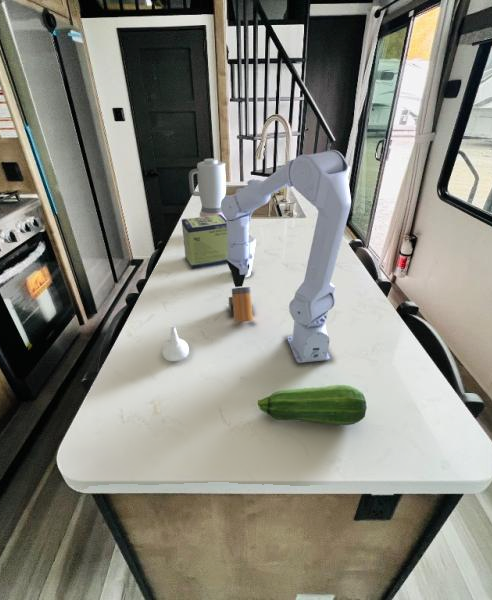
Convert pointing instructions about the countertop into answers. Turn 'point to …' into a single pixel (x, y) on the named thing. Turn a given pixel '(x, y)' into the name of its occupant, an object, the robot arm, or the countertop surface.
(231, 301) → the prop block
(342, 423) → the vegetable
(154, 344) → the countertop surface
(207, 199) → the blender
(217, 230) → the protein box
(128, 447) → the countertop surface
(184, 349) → the garlic bulb
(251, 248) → the foam cup
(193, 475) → the countertop surface
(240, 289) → the orange and grey block
